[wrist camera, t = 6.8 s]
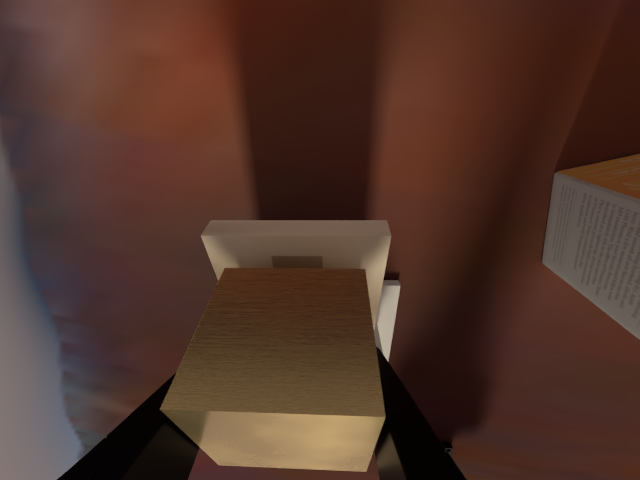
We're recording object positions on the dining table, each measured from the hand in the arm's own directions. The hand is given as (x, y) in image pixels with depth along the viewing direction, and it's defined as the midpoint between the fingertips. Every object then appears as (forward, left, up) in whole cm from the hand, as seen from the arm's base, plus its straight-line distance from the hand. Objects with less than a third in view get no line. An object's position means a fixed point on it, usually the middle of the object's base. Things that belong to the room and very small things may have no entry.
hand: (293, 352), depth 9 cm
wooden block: (0, 0, -2) cm, 2 cm away
